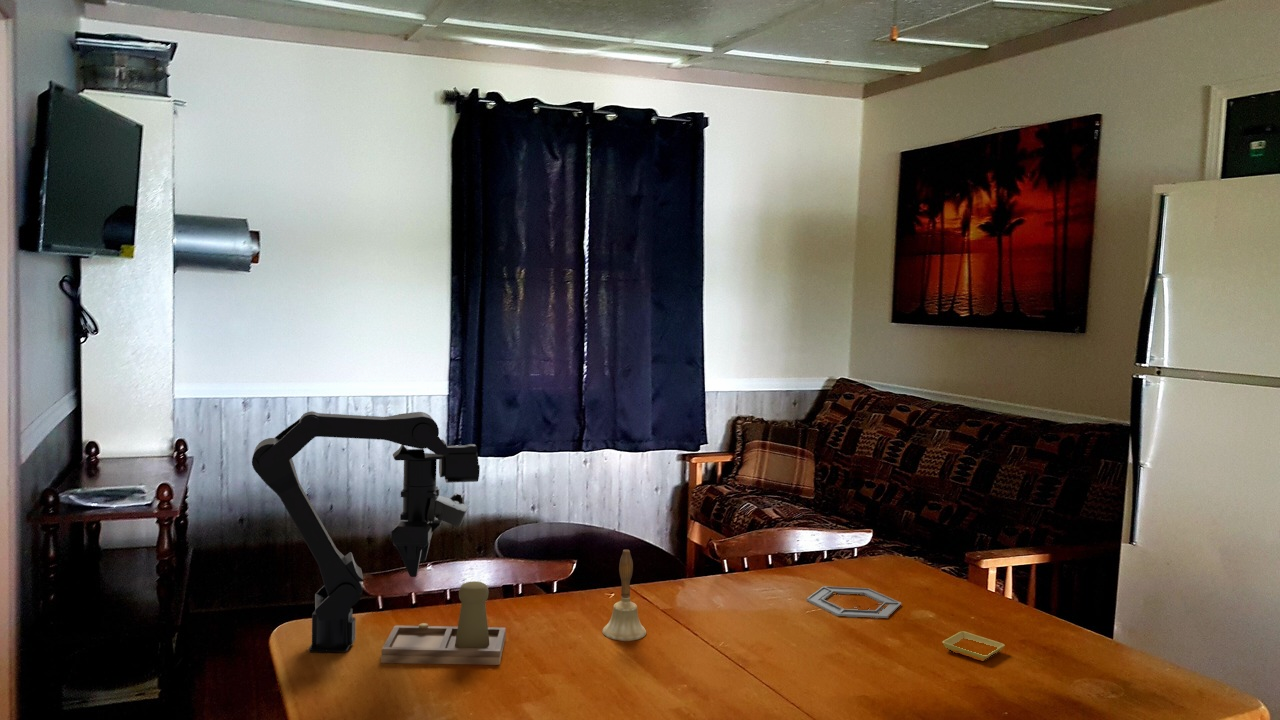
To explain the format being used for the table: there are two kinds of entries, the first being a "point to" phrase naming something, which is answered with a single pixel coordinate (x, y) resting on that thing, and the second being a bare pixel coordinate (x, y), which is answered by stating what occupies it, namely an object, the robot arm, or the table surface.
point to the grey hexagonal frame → (826, 591)
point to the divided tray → (439, 646)
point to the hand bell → (625, 608)
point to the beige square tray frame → (957, 637)
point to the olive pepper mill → (473, 616)
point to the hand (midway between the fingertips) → (418, 568)
